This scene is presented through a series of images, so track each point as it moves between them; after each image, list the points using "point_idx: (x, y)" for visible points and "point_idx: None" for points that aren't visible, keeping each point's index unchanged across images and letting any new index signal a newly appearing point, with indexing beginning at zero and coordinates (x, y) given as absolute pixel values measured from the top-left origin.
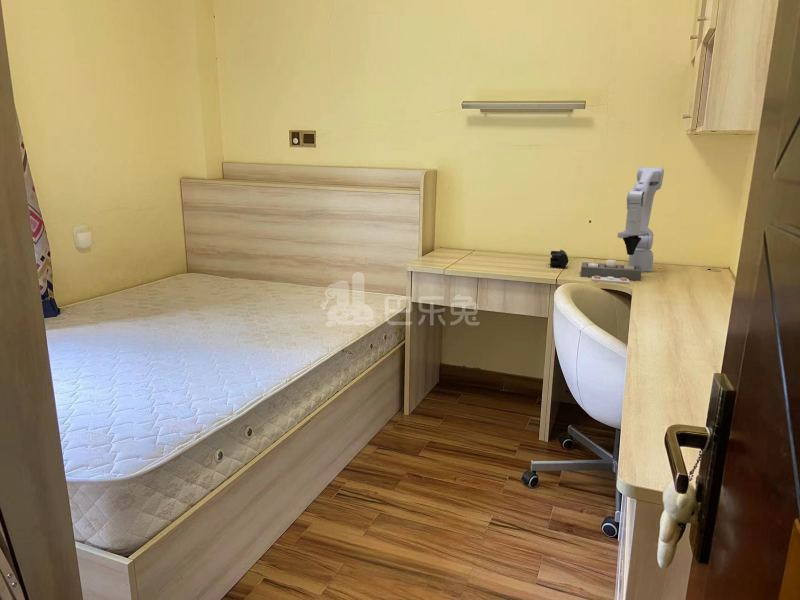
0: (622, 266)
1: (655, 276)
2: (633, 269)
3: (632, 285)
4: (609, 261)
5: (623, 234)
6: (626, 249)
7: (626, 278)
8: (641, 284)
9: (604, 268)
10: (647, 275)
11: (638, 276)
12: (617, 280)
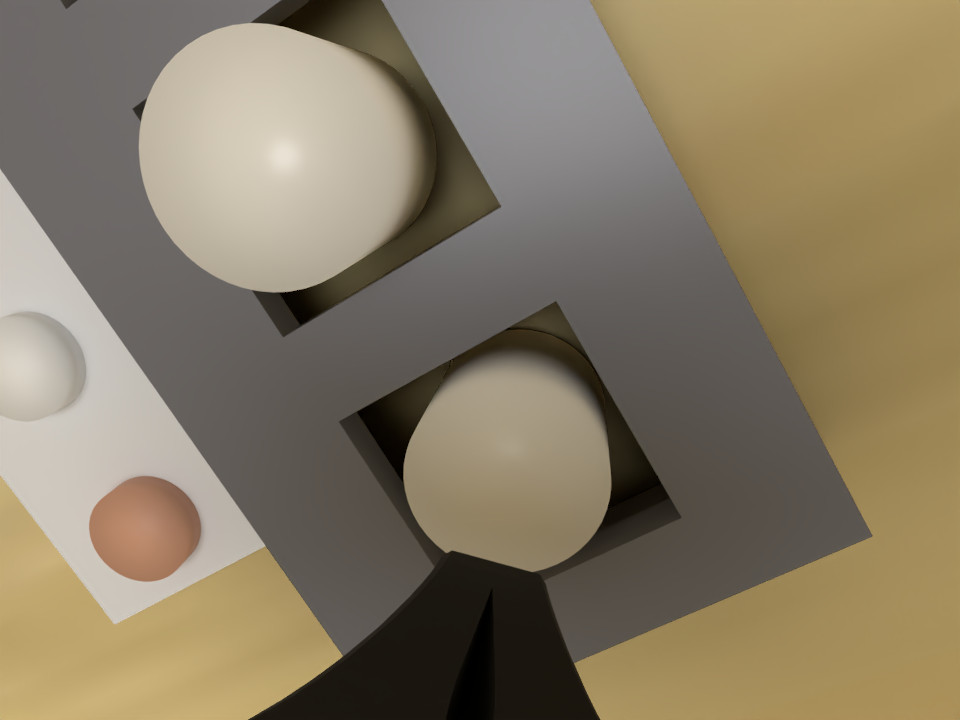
0: (560, 302)
1: (950, 650)
2: None
3: (108, 659)
4: (146, 180)
5: None
6: (398, 608)
7: (151, 569)
8: (256, 710)
9: (22, 187)
10: (936, 540)
11: None
12: (53, 474)
